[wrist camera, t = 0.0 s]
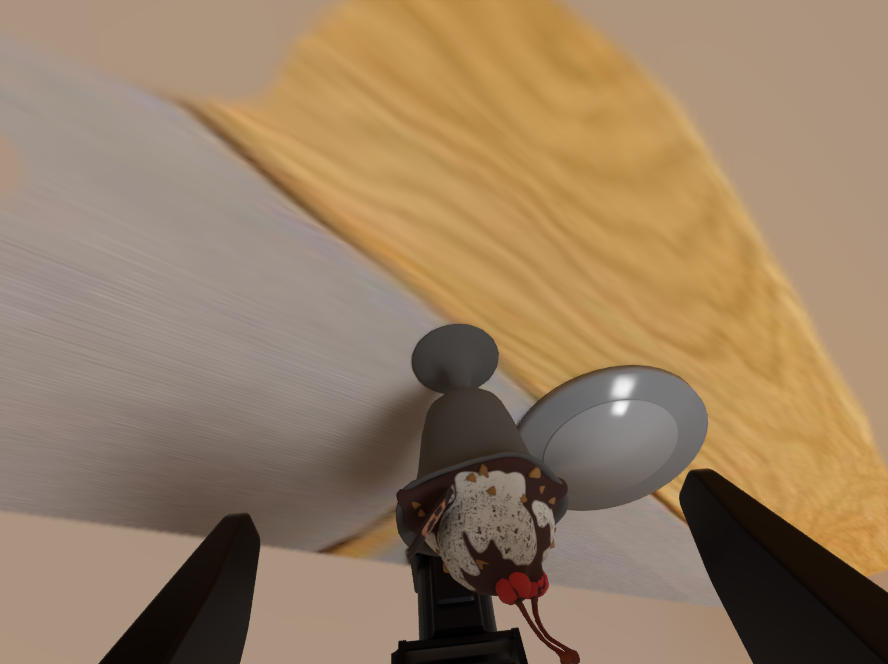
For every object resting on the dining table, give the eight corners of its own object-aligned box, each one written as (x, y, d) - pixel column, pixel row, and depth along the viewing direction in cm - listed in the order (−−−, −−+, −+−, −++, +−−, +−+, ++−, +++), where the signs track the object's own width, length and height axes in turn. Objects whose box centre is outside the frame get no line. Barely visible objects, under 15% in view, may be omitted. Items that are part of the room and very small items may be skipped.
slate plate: (674, 492, 34) (680, 502, 33) (507, 509, 34) (509, 519, 33) (726, 356, 27) (735, 365, 26) (515, 374, 26) (519, 384, 26)
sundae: (527, 380, 27) (639, 678, 14) (424, 416, 28) (444, 725, 15) (494, 291, 23) (606, 583, 11) (378, 335, 24) (354, 652, 12)
